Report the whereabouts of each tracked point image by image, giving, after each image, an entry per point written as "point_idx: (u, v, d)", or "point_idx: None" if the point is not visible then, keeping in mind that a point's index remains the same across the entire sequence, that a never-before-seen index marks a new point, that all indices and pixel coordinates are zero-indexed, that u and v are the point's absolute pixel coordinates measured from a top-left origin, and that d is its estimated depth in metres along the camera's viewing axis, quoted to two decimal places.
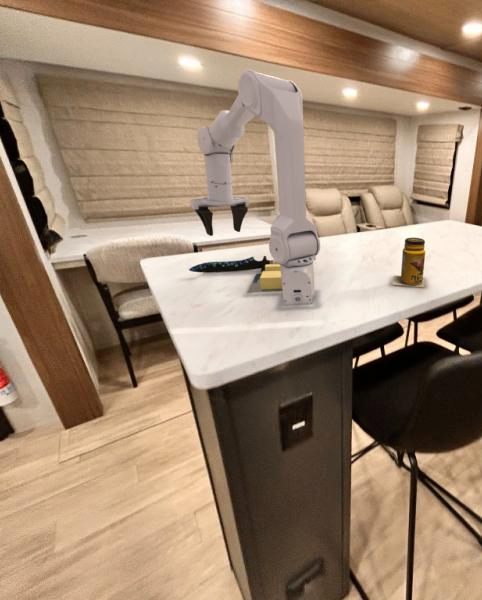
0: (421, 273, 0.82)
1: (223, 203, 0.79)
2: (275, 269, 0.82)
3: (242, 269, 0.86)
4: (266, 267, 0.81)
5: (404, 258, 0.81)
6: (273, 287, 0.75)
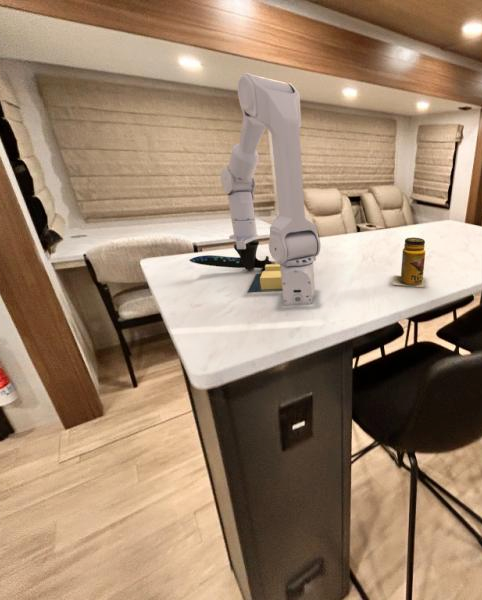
0: (421, 273, 0.82)
1: (256, 237, 0.83)
2: (275, 269, 0.82)
3: (243, 266, 0.86)
4: (266, 267, 0.81)
5: (404, 258, 0.81)
6: (273, 287, 0.75)
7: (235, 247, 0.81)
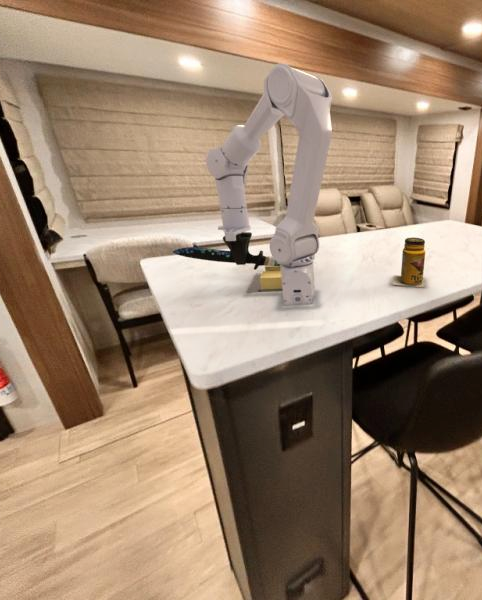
0: (421, 273, 0.82)
1: (248, 228, 0.74)
2: (275, 269, 0.82)
3: (233, 261, 0.77)
4: (266, 267, 0.81)
5: (404, 258, 0.81)
6: (273, 287, 0.75)
7: (224, 239, 0.72)
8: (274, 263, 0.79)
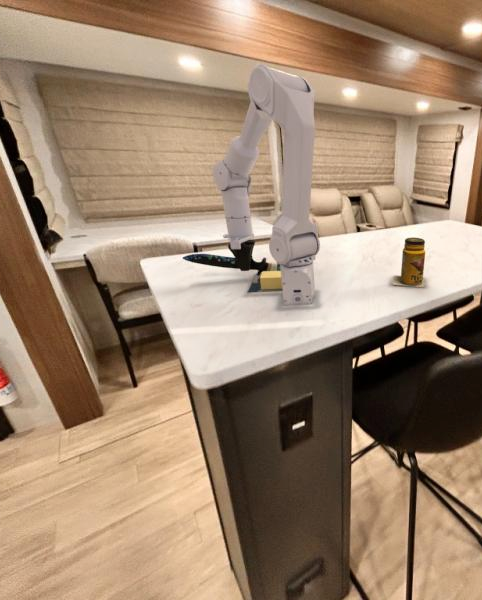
0: (421, 273, 0.82)
1: (252, 236, 0.78)
2: None
3: (238, 267, 0.81)
4: None
5: (404, 258, 0.81)
6: (273, 287, 0.75)
7: (229, 247, 0.75)
8: (276, 270, 0.82)
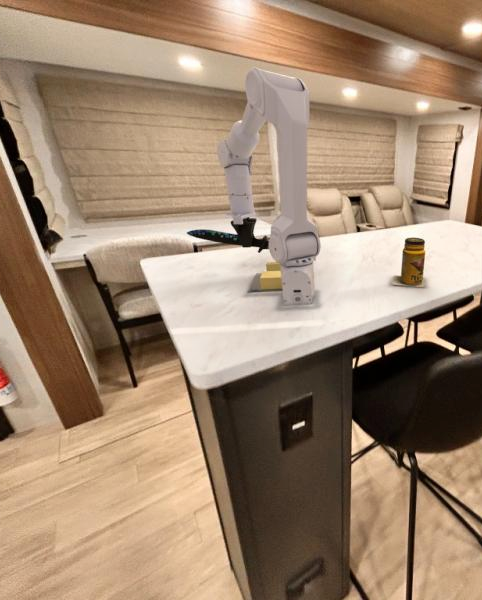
0: (421, 273, 0.82)
1: (254, 213, 0.81)
2: (276, 267, 0.84)
3: (240, 244, 0.84)
4: (267, 265, 0.83)
5: (404, 258, 0.81)
6: (273, 287, 0.75)
7: (232, 223, 0.79)
8: None
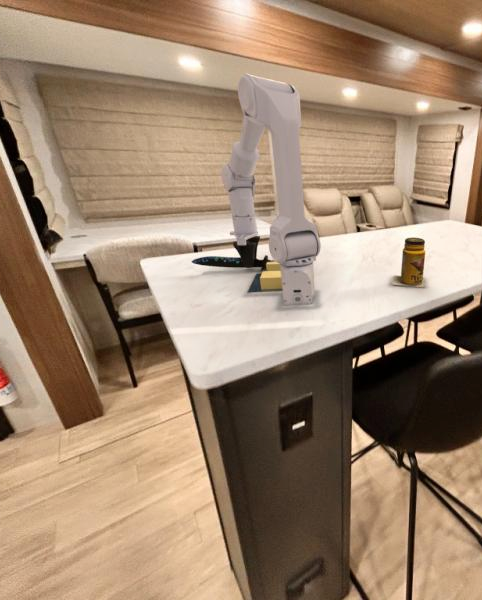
0: (421, 273, 0.82)
1: (256, 233, 0.84)
2: (276, 267, 0.84)
3: (243, 266, 0.87)
4: (267, 265, 0.83)
5: (404, 258, 0.81)
6: (273, 287, 0.75)
7: (234, 245, 0.80)
8: None
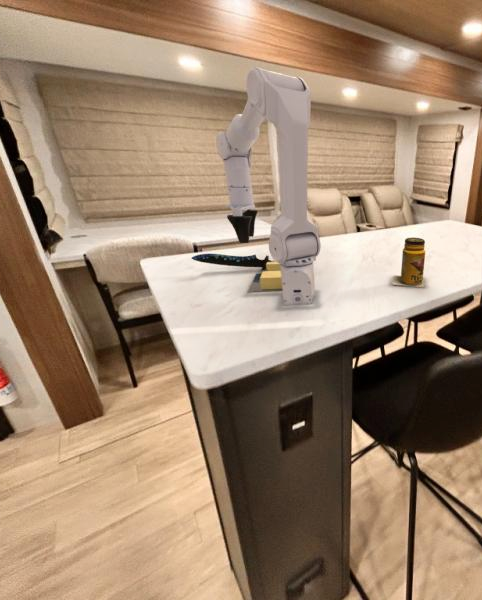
0: (421, 273, 0.82)
1: (253, 206, 0.81)
2: (276, 267, 0.84)
3: (243, 265, 0.87)
4: (267, 265, 0.83)
5: (404, 258, 0.81)
6: (273, 287, 0.75)
7: (228, 217, 0.76)
8: None
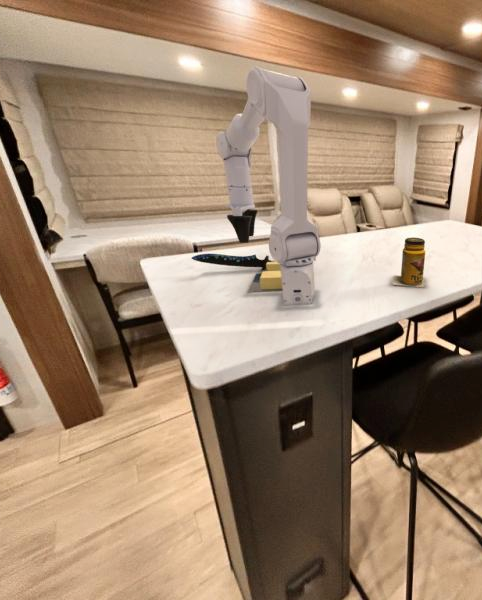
0: (421, 273, 0.82)
1: (253, 206, 0.81)
2: (276, 267, 0.84)
3: (243, 265, 0.87)
4: (267, 265, 0.83)
5: (404, 258, 0.81)
6: (273, 287, 0.75)
7: (228, 217, 0.76)
8: None
